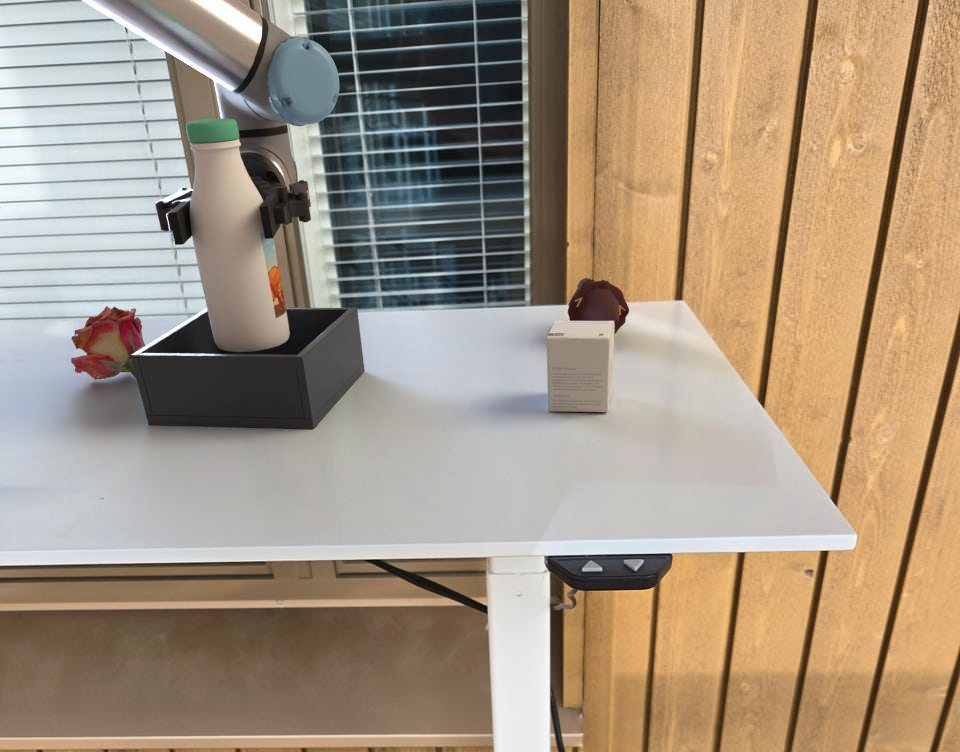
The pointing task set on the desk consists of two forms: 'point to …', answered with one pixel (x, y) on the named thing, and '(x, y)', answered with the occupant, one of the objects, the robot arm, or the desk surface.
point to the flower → (108, 343)
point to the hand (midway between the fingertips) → (221, 225)
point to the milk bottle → (233, 244)
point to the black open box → (251, 373)
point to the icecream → (598, 303)
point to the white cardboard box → (580, 366)
